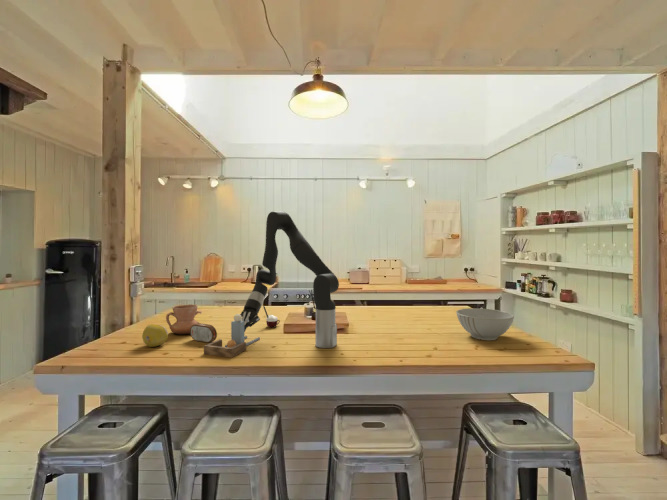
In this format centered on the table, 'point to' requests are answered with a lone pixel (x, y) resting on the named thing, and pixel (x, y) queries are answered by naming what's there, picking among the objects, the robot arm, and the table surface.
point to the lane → (250, 341)
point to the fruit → (154, 335)
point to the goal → (223, 349)
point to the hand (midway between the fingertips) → (240, 333)
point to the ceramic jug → (183, 318)
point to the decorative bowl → (484, 322)
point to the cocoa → (271, 320)
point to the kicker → (237, 329)
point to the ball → (231, 343)
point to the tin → (203, 332)
